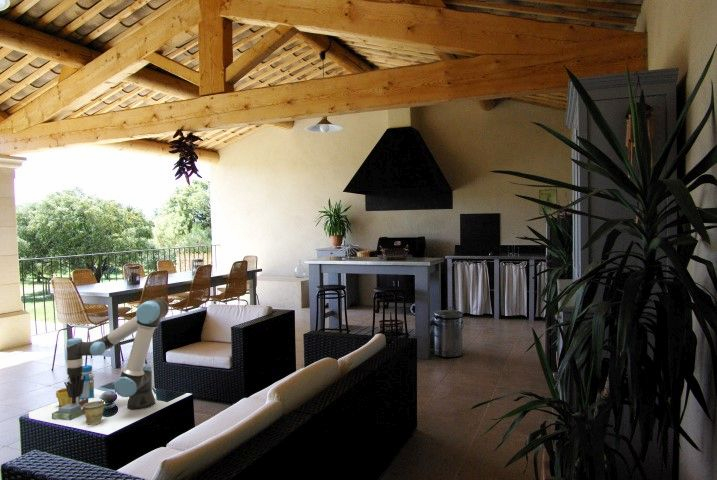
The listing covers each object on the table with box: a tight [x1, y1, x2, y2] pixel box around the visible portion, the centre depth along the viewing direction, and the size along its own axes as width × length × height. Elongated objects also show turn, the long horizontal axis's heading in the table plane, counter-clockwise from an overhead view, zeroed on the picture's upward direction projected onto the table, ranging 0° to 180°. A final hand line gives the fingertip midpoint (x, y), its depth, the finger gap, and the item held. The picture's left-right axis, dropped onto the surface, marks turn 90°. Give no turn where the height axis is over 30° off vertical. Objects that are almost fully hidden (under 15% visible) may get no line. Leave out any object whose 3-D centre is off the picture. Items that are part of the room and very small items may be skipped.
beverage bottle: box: [79, 364, 95, 400], centre depth 296 cm, size 8×8×20 cm
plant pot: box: [55, 387, 72, 407], centre depth 283 cm, size 10×10×10 cm
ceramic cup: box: [83, 400, 107, 426], centre depth 257 cm, size 13×10×10 cm
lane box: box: [51, 398, 103, 421], centre depth 270 cm, size 12×25×4 cm, turn 168°
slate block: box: [57, 404, 81, 414], centre depth 264 cm, size 8×7×5 cm
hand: (75, 408), depth 268 cm, fingers closed
